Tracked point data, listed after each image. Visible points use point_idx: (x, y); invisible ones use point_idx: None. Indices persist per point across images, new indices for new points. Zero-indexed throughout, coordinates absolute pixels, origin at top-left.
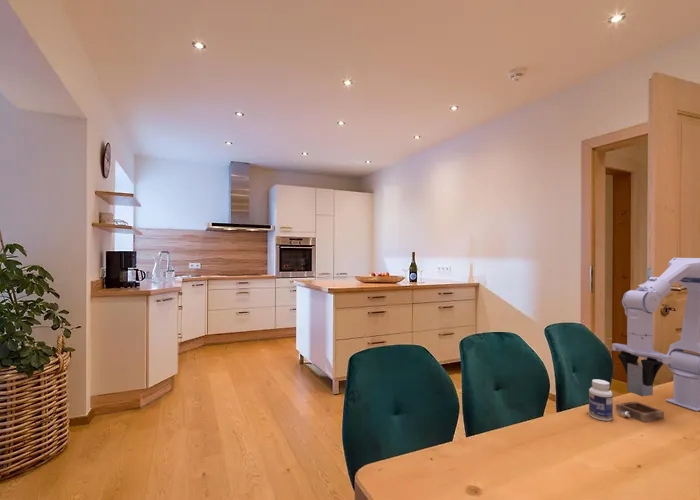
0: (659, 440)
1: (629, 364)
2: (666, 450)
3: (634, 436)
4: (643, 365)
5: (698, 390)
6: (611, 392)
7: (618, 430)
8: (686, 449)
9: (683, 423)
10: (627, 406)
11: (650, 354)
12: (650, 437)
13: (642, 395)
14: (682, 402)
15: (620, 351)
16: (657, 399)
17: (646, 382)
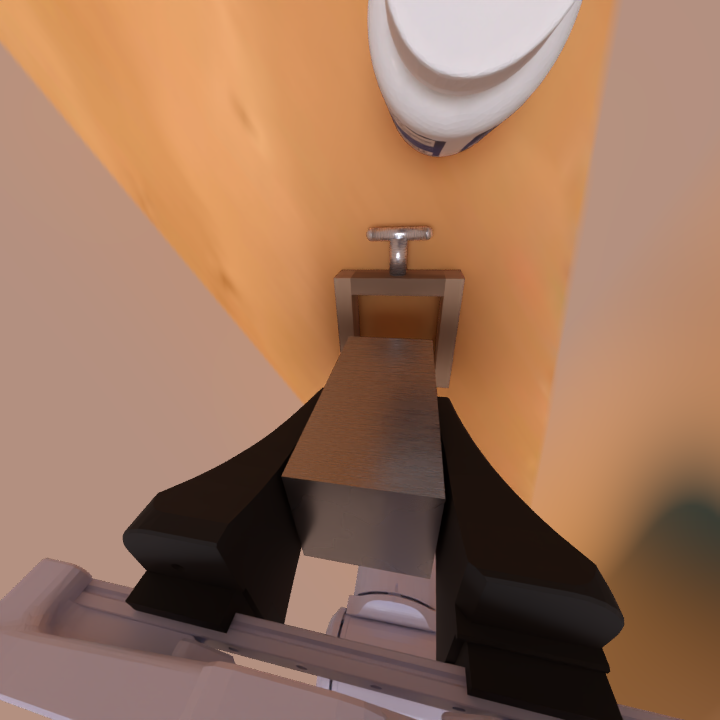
0: (200, 153)
1: (419, 483)
2: (118, 78)
3: (230, 52)
4: (248, 486)
5: None
6: (386, 77)
7: (293, 19)
8: (143, 187)
9: (313, 386)
10: (440, 320)
11: (56, 689)
12: (223, 139)
13: (348, 340)
14: None
15: (641, 711)
16: None
17: (315, 397)
